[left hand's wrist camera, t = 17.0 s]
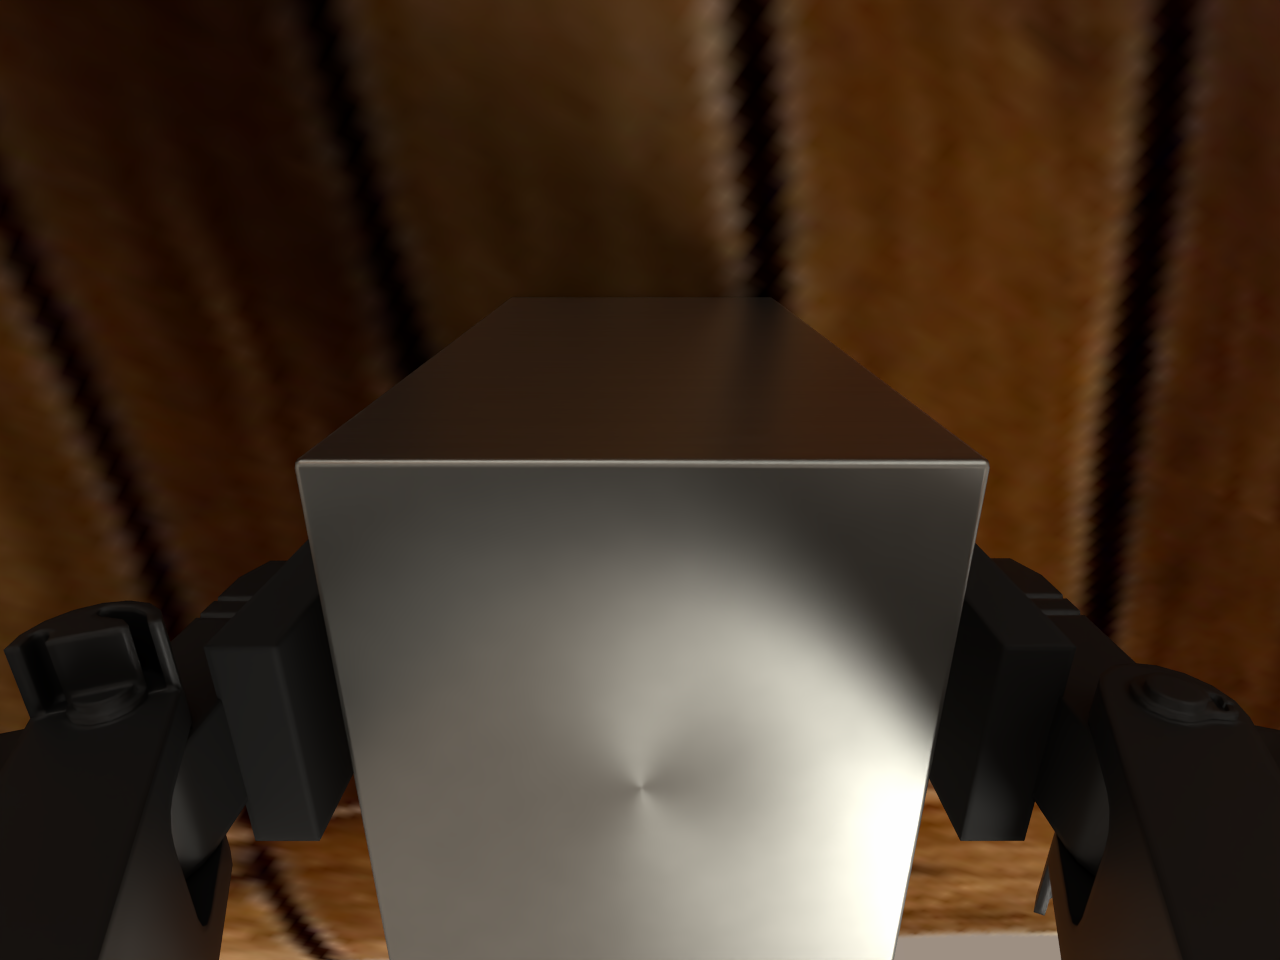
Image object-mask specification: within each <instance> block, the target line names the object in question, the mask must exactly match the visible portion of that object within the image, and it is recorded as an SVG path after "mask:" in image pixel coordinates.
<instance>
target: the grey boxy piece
mask: <svg viewBox="0 0 1280 960" xmlns="http://www.w3.org/2000/svg"><path fill="white" fill-rule="evenodd" d="M295 470H296V476H297V481H298V486H299V491H300V496H301V502H302V507H303V512H304V517H305V522H306V528H307V533H308V538H309V543H310V548H311V554H312V559H313V564H314V569H315V574H316V580H317V585H318V590H319V595H320V600H321V606H322V611H323V616H324V621H325V626H326V632H327V637H328V642H329V647H330V652H331V658H332V663H333V668H334V673H335V678H336V684H337V689H338V694H339V699H340V704H341V710H342V715H343V720H344V725H345V730H346V735H347V741H348V746H349V751H350V756H351V761H352V767H353V772H354V777H355V782H356V787H357V793H358V798H359V803H360V808H361V813H362V819H363V824H364V829H365V834H366V839H367V845H368V850H369V855H370V860H371V865H372V871H373V876H374V881H375V886H376V891H377V897H378V902H379V907H380V912H381V917H382V923H383V928H384V933H385V938H386V943H387V949H388V954H389V959H390V960H894V955H895V950H896V945H897V940H898V935H899V929H900V924H901V919H902V914H903V909H904V904H905V899H906V894H907V888H908V883H909V878H910V873H911V868H912V863H913V858H914V853H915V847H916V842H917V837H918V832H919V827H920V822H921V817H922V811H923V806H924V801H925V796H926V791H927V786H928V781H929V776H930V770H931V765H932V760H933V755H934V750H935V745H936V740H937V734H938V729H939V724H940V719H941V714H942V709H943V704H944V699H945V693H946V688H947V683H948V678H949V673H950V668H951V663H952V658H953V652H954V647H955V642H956V637H957V632H958V627H959V622H960V616H961V611H962V606H963V601H964V596H965V591H966V586H967V581H968V575H969V570H970V565H971V560H972V555H973V550H974V545H975V539H976V534H977V529H978V524H979V519H980V514H981V509H982V504H983V498H984V493H985V488H986V483H987V478H988V473H989V462H988V460H987V459H986V458H984V457H983V456H982V455H980V454H979V453H978V452H976V451H975V450H974V449H972V448H971V447H970V446H968V445H967V444H966V443H964V442H963V441H962V440H960V439H959V438H958V437H956V436H955V435H954V434H952V433H951V432H950V431H948V430H947V429H946V428H944V427H943V426H942V425H940V424H939V423H938V422H936V421H935V420H934V419H932V418H931V417H930V416H928V415H927V414H926V413H924V412H923V411H922V410H920V409H919V408H918V407H916V406H915V405H914V404H912V403H911V402H910V401H908V400H907V399H906V398H904V397H903V396H902V395H900V394H899V393H898V392H896V391H895V390H894V389H892V388H891V387H890V386H888V385H887V384H886V383H884V382H883V381H882V380H880V379H879V378H878V377H876V376H875V375H874V374H872V373H871V372H870V371H868V370H867V369H866V368H864V367H863V366H862V365H860V364H859V363H858V362H857V361H855V360H854V359H853V358H851V357H850V356H849V355H847V354H846V353H845V352H843V351H842V350H841V349H839V348H838V347H837V346H835V345H834V344H833V343H831V342H830V341H829V340H827V339H826V338H825V337H823V336H822V335H821V334H819V333H818V332H817V331H815V330H814V329H813V328H811V327H810V326H809V325H807V324H806V323H805V322H803V321H802V320H801V319H799V318H798V317H797V316H795V315H794V314H793V313H791V312H790V311H789V310H787V309H786V308H785V307H783V306H782V305H781V304H779V303H778V302H777V301H775V300H774V299H773V298H771V297H512V298H510V299H509V300H507V301H506V302H505V303H503V304H502V305H501V306H499V307H498V308H497V309H495V310H494V311H493V312H491V313H490V314H489V315H488V316H486V317H485V318H484V319H482V320H481V321H480V322H478V323H477V324H476V325H474V326H473V327H472V328H470V329H469V330H468V331H466V332H465V333H464V334H462V335H461V336H460V337H458V338H457V339H456V340H454V341H453V342H452V343H451V344H449V345H448V346H447V347H445V348H444V349H443V350H441V351H440V352H439V353H437V354H436V355H435V356H433V357H432V358H431V359H429V360H428V361H427V362H425V363H424V364H423V365H421V366H420V367H419V368H417V369H416V370H415V371H413V372H412V373H411V374H410V375H408V376H407V377H406V378H404V379H403V380H402V381H400V382H399V383H398V384H396V385H395V386H394V387H392V388H391V389H390V390H388V391H387V392H386V393H384V394H383V395H382V396H380V397H379V398H378V399H376V400H375V401H374V402H373V403H371V404H370V405H369V406H367V407H366V408H365V409H363V410H362V411H361V412H359V413H358V414H357V415H355V416H354V417H353V418H351V419H350V420H349V421H347V422H346V423H345V424H343V425H342V426H341V427H339V428H338V429H337V430H336V431H334V432H333V433H332V434H330V435H329V436H328V437H326V438H325V439H324V440H322V441H321V442H320V443H318V444H317V445H316V446H314V447H313V448H312V449H310V450H309V451H308V452H306V453H305V454H304V455H302V456H301V457H300V458H298V459H297V460H296V464H295Z"/></svg>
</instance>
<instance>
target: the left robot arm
mask: <svg viewBox="0 0 1280 960" xmlns="http://www.w3.org/2000/svg"><path fill="white" fill-rule="evenodd" d="M4 652H5V655H6V657H7V660H8V662H9V665H10V667H11V670H12V673H13V675H14V678H15V680H16V683H17V685H18V688H19V690H20V693H21V695H22V698H23V700H24V703H25V706H26V708H27V711H28V713H29V716H30V720H29V722H28V724H27V725H26V727H25V729H22V730H17V731H12V732H7V733H2V734H0V960H219V956H220V949H221V942H222V935H223V928H224V921H225V914H226V907H227V900H228V893H229V886H230V879H231V872H232V858H231V851H230V847H229V844H228V840H227V837H226V833H227V832H228V830H229V829H230V827H231V826H232V824H233V823H234V821H235V820H236V818H237V816H238V815H239V813H240V812H241V810H242V809H243V807H244V806H245V804H246V807H247V810H248V814H249V818H250V821H251V825H252V829H253V833H254V836H255V840H256V841H320V839H321V837H322V835H323V833H324V831H325V829H326V827H327V825H328V823H329V821H330V819H331V817H332V815H333V813H334V811H335V809H336V807H337V805H338V803H339V801H340V799H341V797H342V795H343V793H344V791H345V789H346V787H347V785H348V783H349V781H350V779H351V777H352V775H353V773H354V772H353V767H352V761H351V756H350V751H349V746H348V741H347V735H346V730H345V725H344V720H343V715H342V710H341V704H340V699H339V694H338V689H337V684H336V678H335V673H334V668H333V663H332V658H331V652H330V647H329V642H328V637H327V632H326V626H325V621H324V616H323V611H322V606H321V600H320V595H319V590H318V585H317V580H316V574H315V569H314V564H313V559H312V554H311V548H310V543H309V539H308V540H307V541H306V542H305V543H304V544H303V545H302V546H301V547H300V548H299V550H298V551H297V552H296V553H295V554H294V555H293V556H292V557H291V558H290V559H289V560H288V561H269V562H267V563H265V564H264V565H262V566H260V567H258V568H256V569H254V570H252V571H250V572H249V573H247V574H245V575H243V576H241V577H239V578H238V579H237V580H236V581H235V582H234V583H233V584H232V585H231V586H230V587H229V588H227V589H226V590H225V591H224V592H223V593H222V594H221V595H220V596H219V597H218V601H214V602H213V603H212V604H210V605H209V606H208V607H207V608H206V609H205V610H204V611H203V612H202V613H201V617H200V618H196V619H195V620H193V621H192V622H191V623H190V624H189V625H188V626H187V627H186V628H185V629H184V630H183V631H182V632H181V633H180V634H179V635H178V636H176V637H175V638H174V639H173V640H172V641H171V642H170V640H169V636H168V633H167V629H166V626H165V622H164V619H163V615H162V612H161V610H160V609H158V608H157V607H155V606H153V605H152V604H150V603H145V602H137V601H120V602H109V603H101V604H97V605H93V606H89V607H85V608H80V609H76V610H73V611H70V612H67V613H65V614H62V615H59V616H57V617H54V618H52V619H49V620H46V621H44V622H42V623H40V624H39V625H37V626H35V627H33V628H31V629H30V630H28V631H26V632H24V633H23V634H21V635H19V636H18V637H17V638H16V639H15V640H14V641H13V642H12V643H11V644H10V645H8V646H7V647H6V648H5V649H4ZM929 779H930V781H931V783H932V785H933V787H934V789H935V791H936V793H937V795H938V797H939V799H940V801H941V803H942V805H943V807H944V809H945V811H946V813H947V815H948V817H949V819H950V821H951V823H952V825H953V827H954V829H955V831H956V833H957V835H958V837H959V839H960V841H1024V840H1025V836H1026V833H1027V829H1028V825H1029V822H1030V818H1031V814H1032V810H1033V807H1034V803H1035V802H1036V803H1037V805H1038V806H1039V808H1040V810H1041V811H1042V813H1043V814H1044V816H1045V817H1046V819H1047V820H1048V822H1049V823H1050V825H1051V826H1052V828H1053V829H1054V831H1055V833H1054V837H1053V840H1052V844H1051V847H1050V850H1049V854H1048V857H1047V861H1046V864H1045V868H1044V871H1043V875H1042V878H1041V882H1040V885H1039V889H1038V892H1037V895H1036V901H1035V907H1034V912H1035V913H1038V914H1042V915H1045V912H1046V909H1047V906H1048V902H1049V899H1051V898H1053V905H1054V912H1055V919H1056V926H1057V933H1058V939H1059V946H1060V953H1061V960H1280V730H1276V729H1270V728H1265V727H1260V726H1255V725H1254V724H1253V722H1252V720H1251V719H1250V717H1249V716H1248V715H1247V714H1246V713H1245V712H1244V710H1243V709H1242V708H1241V707H1240V706H1239V705H1238V704H1237V703H1236V701H1234V700H1233V699H1231V698H1230V697H1228V696H1227V695H1225V694H1224V693H1222V692H1221V691H1219V690H1218V689H1216V688H1215V687H1213V686H1212V685H1209V684H1207V683H1205V682H1203V681H1201V680H1198V679H1196V678H1194V677H1192V676H1189V675H1187V674H1185V673H1182V672H1178V671H1174V670H1171V669H1167V668H1164V667H1160V666H1156V665H1147V664H1137V663H1135V662H1134V661H1133V660H1132V659H1131V658H1130V657H1129V656H1128V655H1127V654H1126V653H1124V652H1123V651H1122V650H1121V649H1120V648H1119V647H1118V646H1117V645H1116V644H1115V643H1114V642H1113V641H1112V640H1111V639H1109V638H1108V637H1107V636H1106V635H1105V634H1104V633H1103V632H1102V631H1101V630H1100V629H1099V628H1098V627H1097V626H1096V625H1094V624H1093V623H1092V622H1091V621H1090V620H1089V619H1088V618H1087V617H1086V616H1085V615H1080V611H1079V610H1078V609H1077V608H1076V607H1075V606H1074V605H1073V604H1072V603H1071V602H1070V601H1069V600H1068V599H1063V597H1062V594H1061V593H1060V592H1059V591H1058V590H1057V589H1056V588H1055V587H1054V586H1053V585H1052V584H1051V583H1049V582H1048V581H1047V580H1046V579H1045V578H1044V577H1043V576H1042V575H1040V574H1039V573H1037V572H1035V571H1033V570H1031V569H1029V568H1027V567H1025V566H1023V565H1022V564H1020V563H1018V562H1016V561H1014V560H1012V559H1010V558H989V557H988V556H987V555H986V554H985V553H984V552H983V551H982V550H981V548H980V547H979V546H978V545H977V544H976V543H975V545H974V550H973V555H972V560H971V565H970V570H969V575H968V581H967V586H966V591H965V596H964V601H963V606H962V611H961V616H960V622H959V627H958V632H957V637H956V642H955V647H954V652H953V658H952V663H951V668H950V673H949V678H948V683H947V688H946V693H945V699H944V704H943V709H942V714H941V719H940V724H939V729H938V734H937V740H936V745H935V750H934V755H933V760H932V765H931V770H930V776H929Z"/></svg>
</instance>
